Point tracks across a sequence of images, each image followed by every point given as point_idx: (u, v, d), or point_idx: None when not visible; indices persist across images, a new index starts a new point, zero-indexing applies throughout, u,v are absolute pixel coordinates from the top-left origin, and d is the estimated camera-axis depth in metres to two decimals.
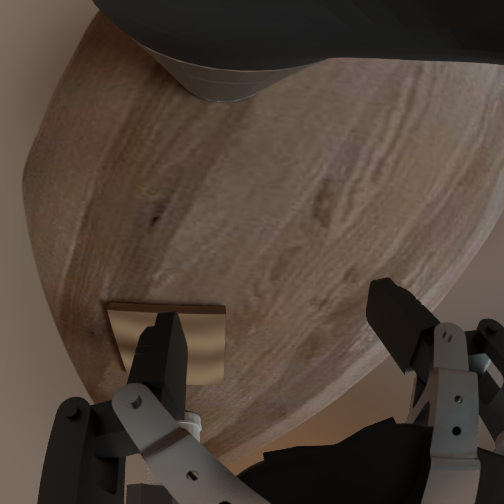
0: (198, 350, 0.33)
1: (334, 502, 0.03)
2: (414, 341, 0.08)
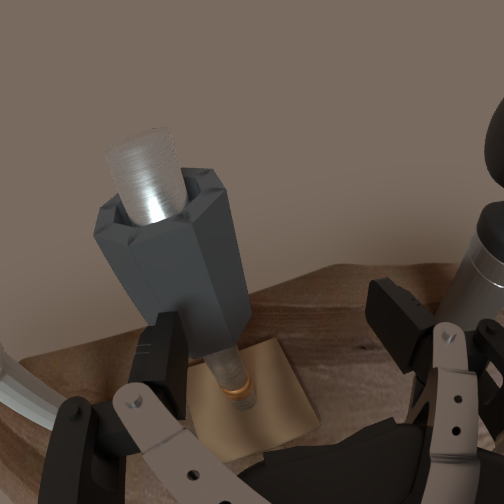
0: (261, 422, 0.28)
1: (334, 502, 0.03)
2: (413, 341, 0.08)
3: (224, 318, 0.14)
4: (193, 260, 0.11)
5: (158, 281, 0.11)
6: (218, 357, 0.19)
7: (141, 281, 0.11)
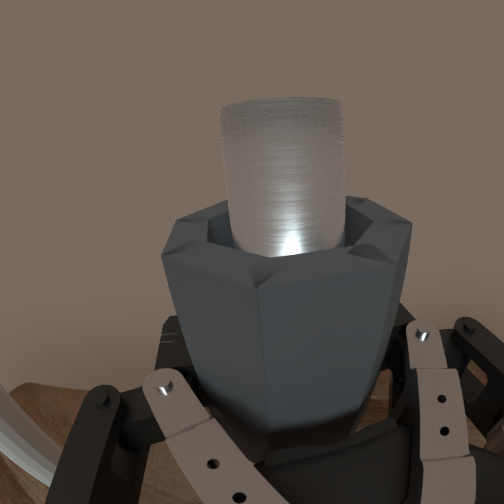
0: None
1: (334, 502, 0.03)
2: None
3: (350, 429, 0.07)
4: (365, 339, 0.05)
5: (286, 372, 0.05)
6: None
7: (245, 367, 0.05)
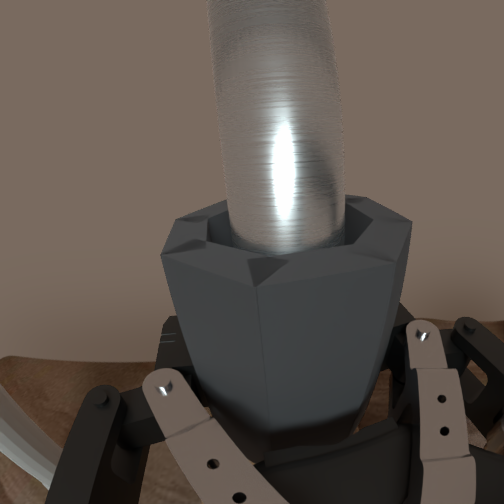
0: None
1: (334, 502, 0.03)
2: None
3: (351, 429, 0.07)
4: (365, 338, 0.05)
5: (286, 372, 0.05)
6: None
7: (245, 366, 0.05)
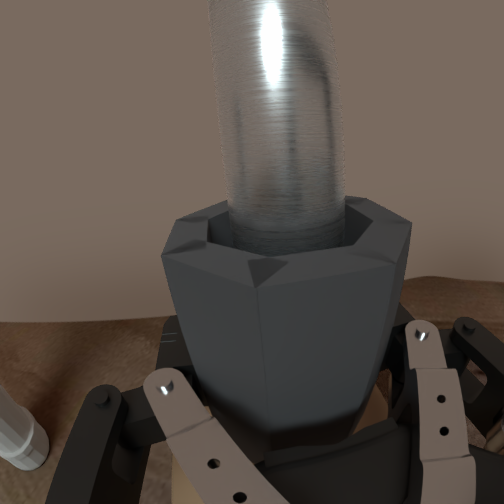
0: None
1: (334, 502, 0.03)
2: None
3: (350, 429, 0.07)
4: (365, 338, 0.05)
5: (286, 372, 0.05)
6: (296, 174, 0.05)
7: (245, 366, 0.05)
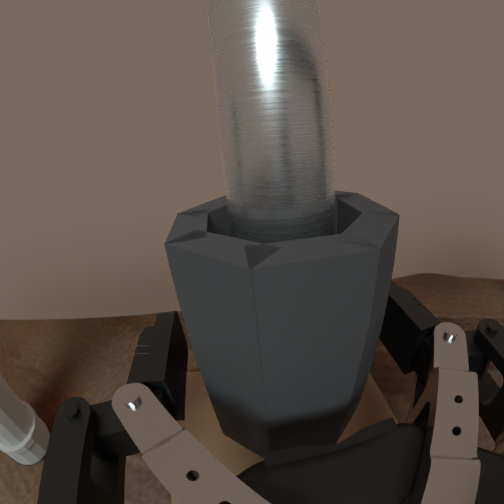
0: None
1: (334, 502, 0.03)
2: (414, 341, 0.08)
3: (344, 415, 0.08)
4: (354, 321, 0.06)
5: (280, 352, 0.06)
6: (288, 167, 0.06)
7: (242, 347, 0.06)
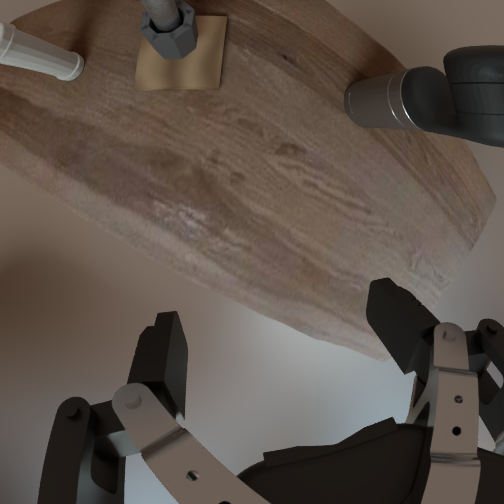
0: (182, 69, 0.36)
1: (334, 502, 0.03)
2: (414, 341, 0.08)
3: (180, 53, 0.29)
4: (172, 44, 0.25)
5: (159, 45, 0.25)
6: (161, 24, 0.21)
7: (153, 44, 0.24)
